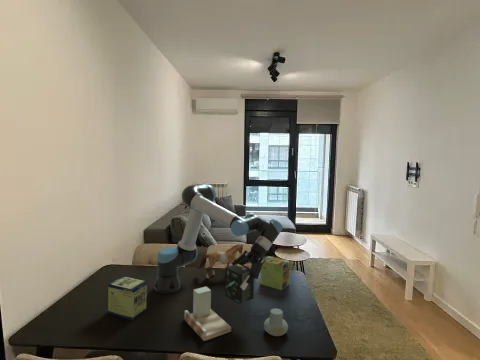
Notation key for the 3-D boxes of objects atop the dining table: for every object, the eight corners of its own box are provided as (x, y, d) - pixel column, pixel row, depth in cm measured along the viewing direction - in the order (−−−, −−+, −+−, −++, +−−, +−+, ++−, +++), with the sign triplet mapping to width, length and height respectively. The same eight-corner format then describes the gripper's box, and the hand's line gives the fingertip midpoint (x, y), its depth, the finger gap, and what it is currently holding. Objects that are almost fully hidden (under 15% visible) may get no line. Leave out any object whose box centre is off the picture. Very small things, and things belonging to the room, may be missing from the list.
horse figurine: (242, 272, 207) (243, 243, 205) (244, 277, 199) (245, 246, 198) (196, 275, 200) (197, 244, 198) (197, 279, 193) (198, 248, 191)
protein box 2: (282, 290, 181) (283, 265, 180) (259, 284, 189) (260, 260, 188) (289, 284, 190) (290, 260, 189) (267, 278, 198) (268, 255, 197)
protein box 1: (133, 320, 144) (133, 289, 142) (107, 313, 149) (107, 283, 148) (147, 310, 153) (147, 281, 152) (122, 304, 159) (122, 275, 158)
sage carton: (193, 313, 148) (193, 289, 147) (205, 309, 152) (206, 286, 151) (197, 317, 144) (198, 293, 143) (210, 313, 148) (211, 290, 147)
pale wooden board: (184, 319, 146) (184, 310, 146) (209, 311, 154) (210, 303, 154) (203, 341, 130) (203, 331, 129) (231, 331, 138) (231, 321, 137)
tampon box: (253, 298, 144) (254, 269, 142) (239, 304, 138) (239, 273, 136) (239, 290, 152) (239, 262, 151) (224, 296, 146) (224, 266, 145)
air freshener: (285, 327, 142) (286, 307, 142) (289, 337, 134) (290, 316, 133) (262, 327, 142) (263, 306, 141) (264, 337, 134) (265, 316, 133)
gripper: (242, 236, 158) (216, 271, 150) (272, 248, 139) (245, 289, 131) (250, 245, 162) (225, 279, 154) (280, 258, 142) (254, 297, 135)
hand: (234, 283), depth 143 cm, fingers closed on tampon box, 11 cm apart
